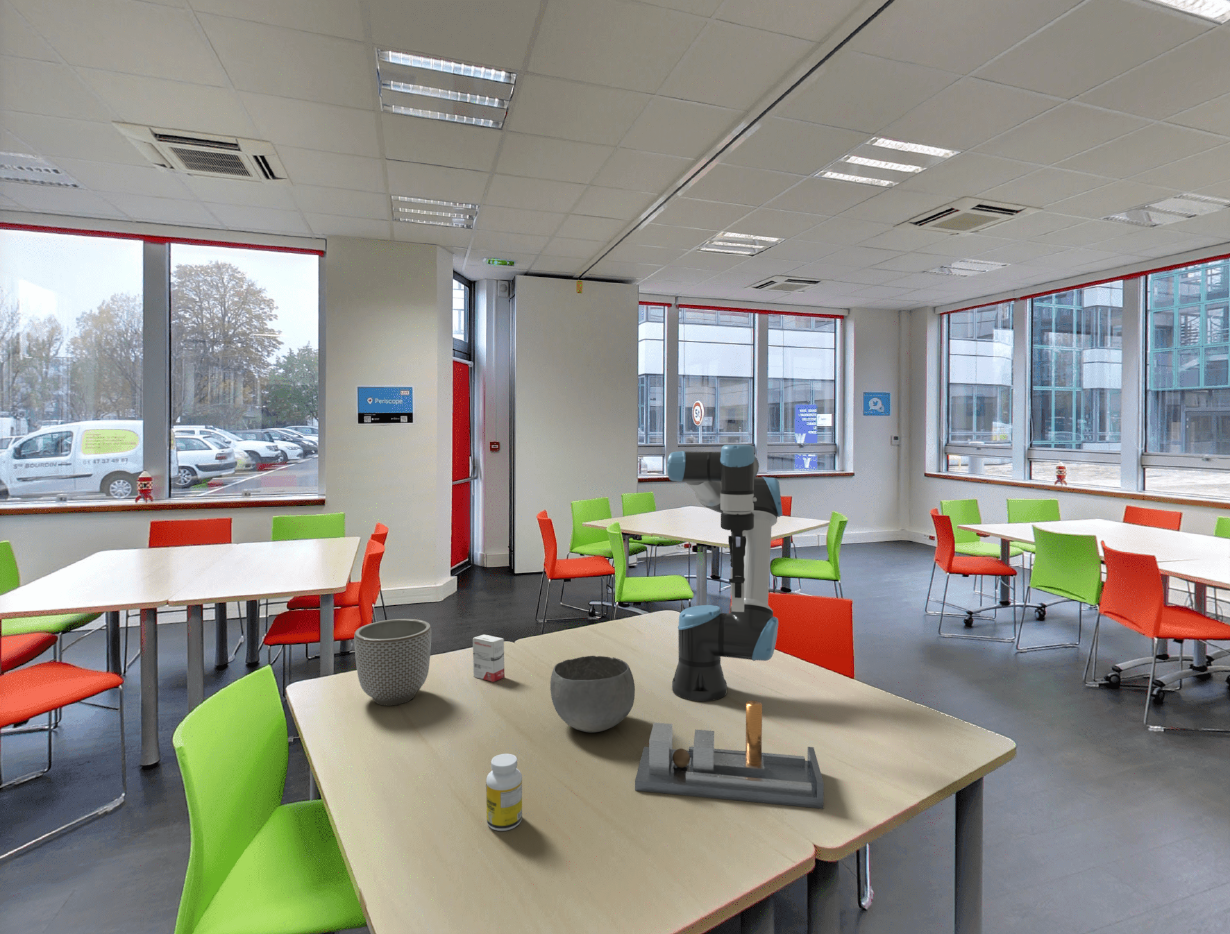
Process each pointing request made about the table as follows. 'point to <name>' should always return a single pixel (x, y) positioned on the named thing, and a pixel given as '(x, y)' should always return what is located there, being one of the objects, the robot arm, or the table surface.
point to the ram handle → (732, 763)
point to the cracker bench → (781, 784)
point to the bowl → (592, 692)
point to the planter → (393, 659)
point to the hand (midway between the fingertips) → (736, 602)
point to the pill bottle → (504, 793)
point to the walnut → (681, 758)
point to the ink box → (488, 657)
